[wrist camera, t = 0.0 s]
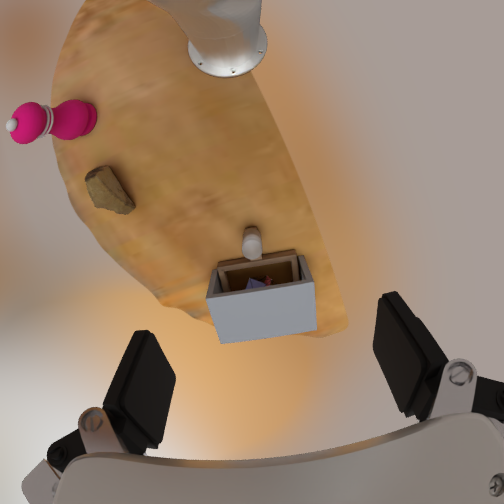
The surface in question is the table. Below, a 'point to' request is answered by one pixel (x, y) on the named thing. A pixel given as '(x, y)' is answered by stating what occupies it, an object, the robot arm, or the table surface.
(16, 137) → the pepper mill
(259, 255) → the brown open frame
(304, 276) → the open box
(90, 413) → the robot arm
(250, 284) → the geometric puzzle
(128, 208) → the rock
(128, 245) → the table surface
